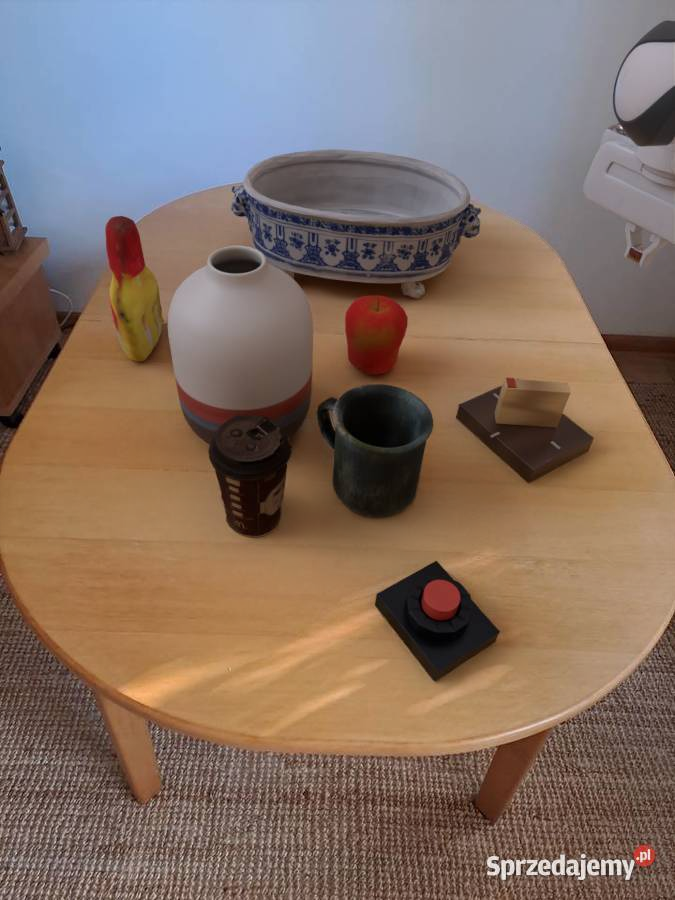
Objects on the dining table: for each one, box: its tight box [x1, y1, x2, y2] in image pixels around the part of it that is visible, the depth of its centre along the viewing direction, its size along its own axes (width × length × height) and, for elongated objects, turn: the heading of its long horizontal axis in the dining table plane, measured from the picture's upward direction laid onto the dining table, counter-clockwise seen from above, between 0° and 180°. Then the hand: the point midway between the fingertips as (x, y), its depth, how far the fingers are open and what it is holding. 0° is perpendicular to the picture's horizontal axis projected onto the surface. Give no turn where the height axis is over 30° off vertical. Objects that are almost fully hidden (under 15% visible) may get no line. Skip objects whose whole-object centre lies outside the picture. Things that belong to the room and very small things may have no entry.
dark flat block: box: [455, 378, 595, 484], centre depth 89 cm, size 14×12×3 cm
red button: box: [421, 580, 460, 621], centre depth 66 cm, size 4×4×2 cm
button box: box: [374, 560, 501, 683], centre depth 68 cm, size 10×8×4 cm
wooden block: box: [494, 377, 571, 427], centre depth 86 cm, size 8×2×6 cm, turn 87°
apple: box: [344, 294, 409, 376], centre depth 94 cm, size 9×8×12 cm
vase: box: [167, 244, 314, 445], centre depth 81 cm, size 17×17×24 cm
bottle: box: [104, 215, 165, 362], centre depth 93 cm, size 12×6×20 cm, turn 179°
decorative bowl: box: [230, 149, 482, 299], centre depth 114 cm, size 42×27×15 cm, turn 85°
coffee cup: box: [208, 414, 293, 538], centre depth 73 cm, size 9×8×13 cm
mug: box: [316, 383, 434, 518], centre depth 78 cm, size 11×15×12 cm
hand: (636, 261), depth 83 cm, fingers closed
